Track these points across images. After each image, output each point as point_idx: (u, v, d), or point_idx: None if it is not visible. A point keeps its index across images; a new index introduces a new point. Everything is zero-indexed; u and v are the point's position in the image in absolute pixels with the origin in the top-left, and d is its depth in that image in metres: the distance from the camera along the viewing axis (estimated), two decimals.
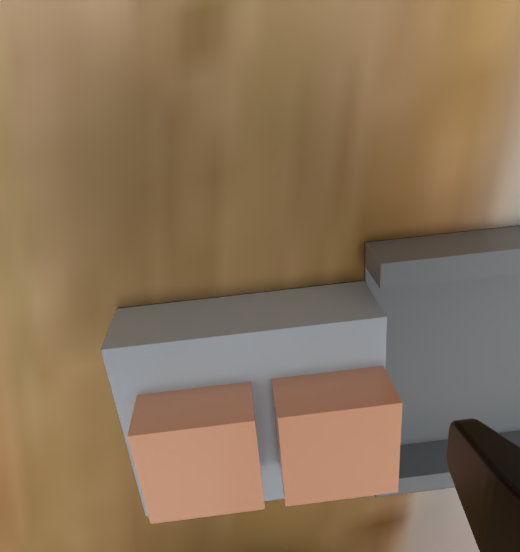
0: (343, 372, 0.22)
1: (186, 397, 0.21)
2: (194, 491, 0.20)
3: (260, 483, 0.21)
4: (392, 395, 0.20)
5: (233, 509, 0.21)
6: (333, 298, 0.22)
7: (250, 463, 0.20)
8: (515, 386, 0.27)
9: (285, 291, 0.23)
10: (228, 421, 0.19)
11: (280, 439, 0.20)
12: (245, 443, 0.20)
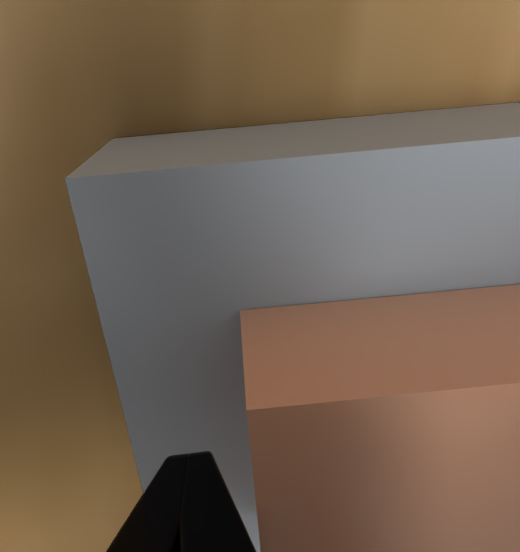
0: None
1: (377, 314, 0.08)
2: None
3: None
4: None
5: None
6: None
7: None
8: None
9: (492, 106, 0.10)
10: None
11: None
12: None
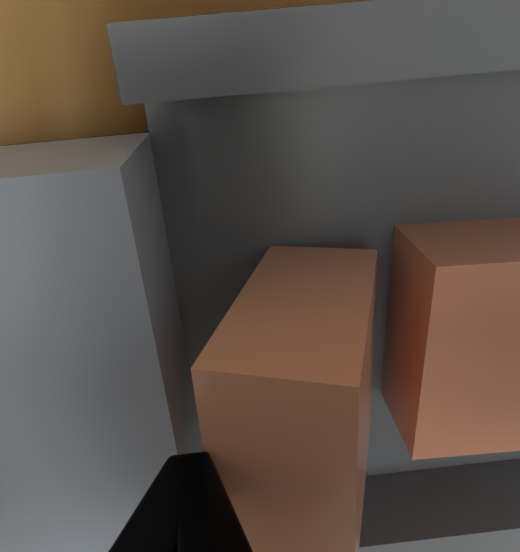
0: None
1: (263, 302, 0.09)
2: (364, 456, 0.10)
3: (372, 375, 0.12)
4: (411, 231, 0.11)
5: (367, 451, 0.12)
6: (44, 152, 0.09)
7: (373, 341, 0.12)
8: None
9: None
10: (369, 268, 0.10)
11: None
12: (374, 303, 0.11)
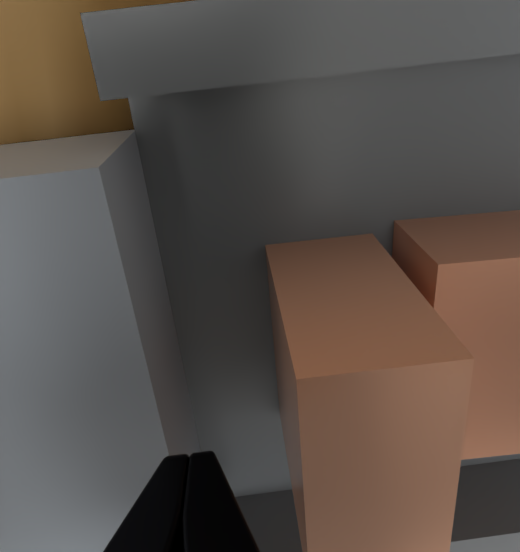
0: None
1: (309, 299, 0.09)
2: None
3: None
4: (412, 227, 0.11)
5: None
6: (23, 152, 0.09)
7: None
8: None
9: None
10: (380, 251, 0.10)
11: None
12: None
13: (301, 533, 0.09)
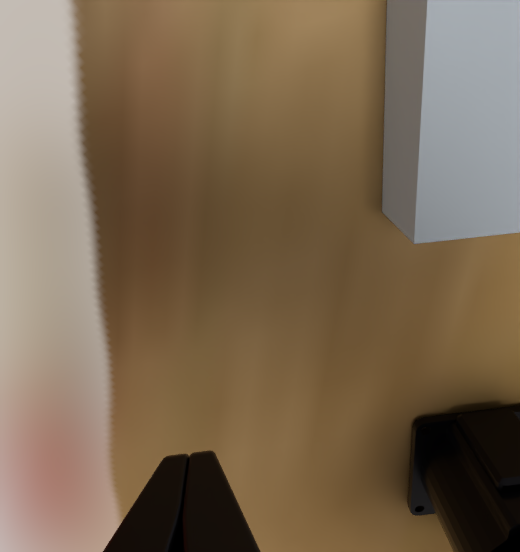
0: None
1: None
2: None
3: None
4: None
5: None
6: None
7: None
8: None
9: None
10: None
11: None
12: None
13: None
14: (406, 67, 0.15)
